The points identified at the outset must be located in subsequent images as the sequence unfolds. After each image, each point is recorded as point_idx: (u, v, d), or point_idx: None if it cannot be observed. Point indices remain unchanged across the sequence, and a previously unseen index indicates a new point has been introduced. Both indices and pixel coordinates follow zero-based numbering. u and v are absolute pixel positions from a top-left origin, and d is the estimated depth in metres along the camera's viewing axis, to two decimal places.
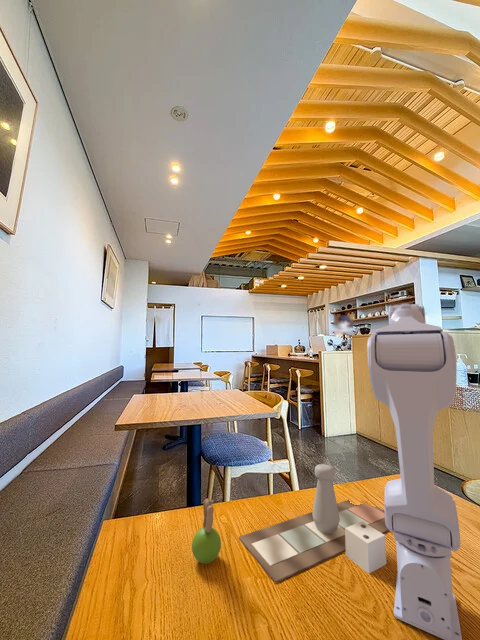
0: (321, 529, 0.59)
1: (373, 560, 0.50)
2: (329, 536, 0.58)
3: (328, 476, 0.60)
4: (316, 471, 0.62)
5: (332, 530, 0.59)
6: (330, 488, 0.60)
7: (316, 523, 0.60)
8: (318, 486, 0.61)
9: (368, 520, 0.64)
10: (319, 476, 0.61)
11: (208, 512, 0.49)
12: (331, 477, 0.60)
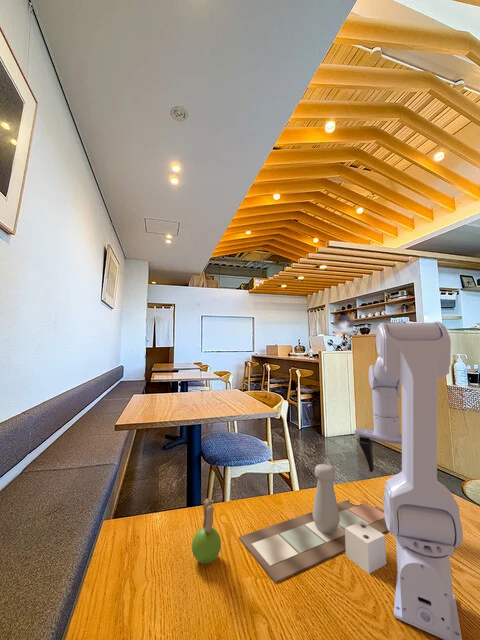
0: (321, 529, 0.59)
1: (373, 560, 0.50)
2: (329, 536, 0.58)
3: (329, 476, 0.60)
4: (316, 471, 0.62)
5: (332, 530, 0.59)
6: (331, 488, 0.60)
7: (316, 523, 0.60)
8: (318, 486, 0.61)
9: (368, 520, 0.64)
10: (319, 476, 0.61)
11: (208, 512, 0.49)
12: (331, 477, 0.60)
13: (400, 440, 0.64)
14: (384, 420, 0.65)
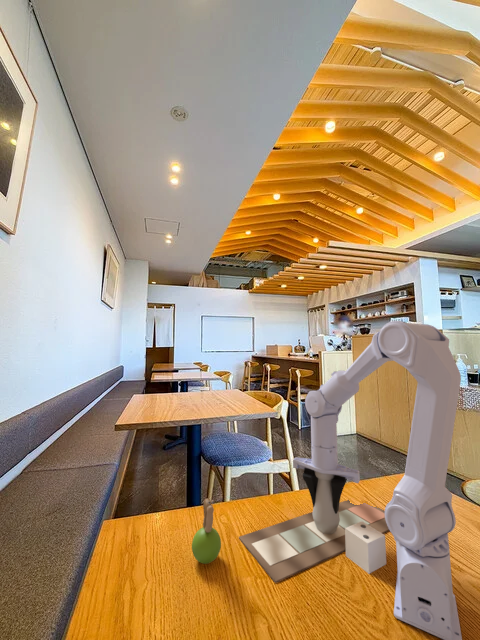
0: (321, 529, 0.59)
1: (373, 560, 0.50)
2: (329, 536, 0.58)
3: (329, 476, 0.60)
4: None
5: (332, 530, 0.59)
6: (331, 488, 0.60)
7: (316, 523, 0.60)
8: (318, 486, 0.61)
9: (368, 520, 0.64)
10: (319, 476, 0.61)
11: (208, 512, 0.49)
12: (331, 477, 0.60)
13: (335, 473, 0.59)
14: (319, 451, 0.61)
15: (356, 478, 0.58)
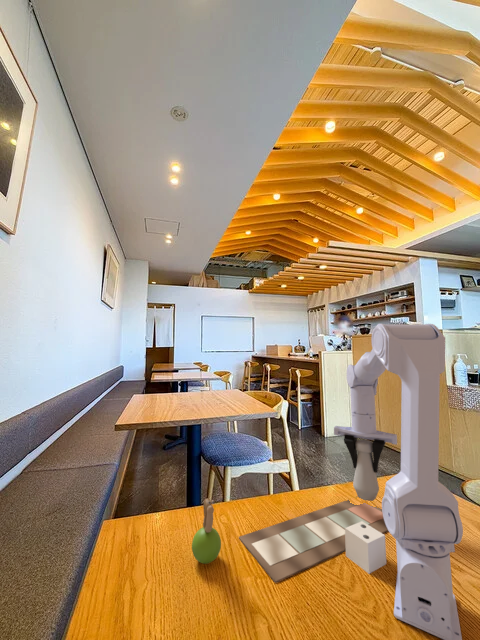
0: (362, 496, 0.66)
1: (373, 560, 0.50)
2: (329, 536, 0.58)
3: (369, 449, 0.67)
4: (357, 445, 0.69)
5: (372, 497, 0.65)
6: (370, 460, 0.67)
7: (357, 491, 0.67)
8: (359, 458, 0.68)
9: (368, 520, 0.64)
10: (360, 449, 0.68)
11: (208, 512, 0.49)
12: (371, 450, 0.67)
13: (375, 436, 0.66)
14: (360, 417, 0.68)
15: (395, 440, 0.65)
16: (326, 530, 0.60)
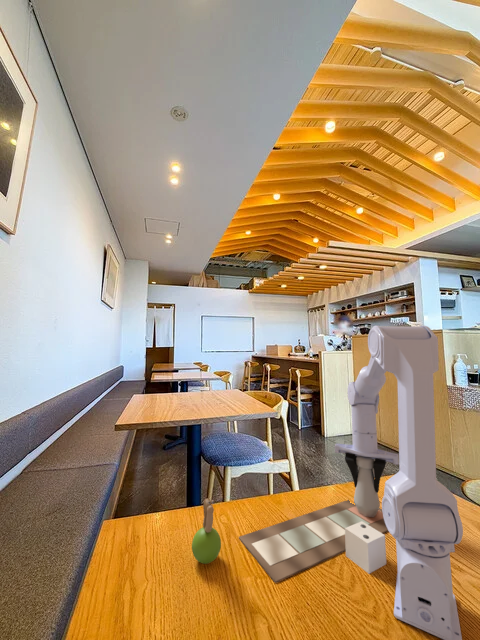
0: (363, 512, 0.66)
1: (373, 560, 0.50)
2: (329, 536, 0.58)
3: (370, 466, 0.67)
4: (358, 461, 0.68)
5: (373, 514, 0.65)
6: (371, 476, 0.67)
7: (358, 507, 0.67)
8: (359, 474, 0.68)
9: (368, 520, 0.64)
10: (361, 465, 0.67)
11: (208, 512, 0.49)
12: (372, 466, 0.67)
13: (376, 456, 0.66)
14: (361, 436, 0.68)
15: (396, 460, 0.65)
16: (326, 530, 0.60)
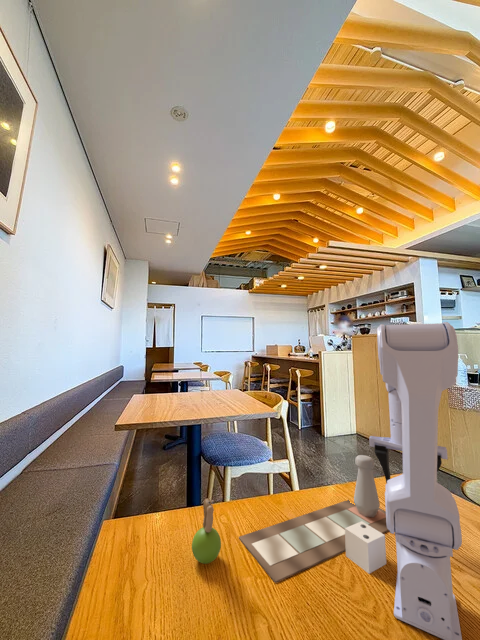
0: (363, 513, 0.66)
1: (373, 560, 0.50)
2: (329, 536, 0.58)
3: (369, 466, 0.67)
4: (357, 461, 0.68)
5: (373, 514, 0.65)
6: (371, 476, 0.67)
7: (358, 507, 0.67)
8: (359, 474, 0.68)
9: (368, 520, 0.64)
10: (360, 465, 0.67)
11: (208, 512, 0.49)
12: (371, 466, 0.67)
13: None
14: None
15: (445, 454, 0.56)
16: (326, 530, 0.60)
